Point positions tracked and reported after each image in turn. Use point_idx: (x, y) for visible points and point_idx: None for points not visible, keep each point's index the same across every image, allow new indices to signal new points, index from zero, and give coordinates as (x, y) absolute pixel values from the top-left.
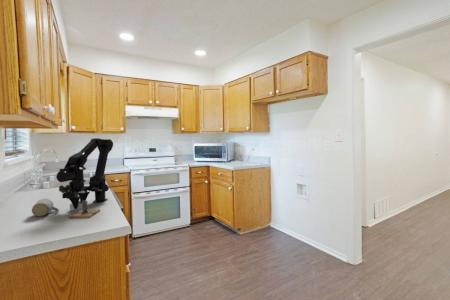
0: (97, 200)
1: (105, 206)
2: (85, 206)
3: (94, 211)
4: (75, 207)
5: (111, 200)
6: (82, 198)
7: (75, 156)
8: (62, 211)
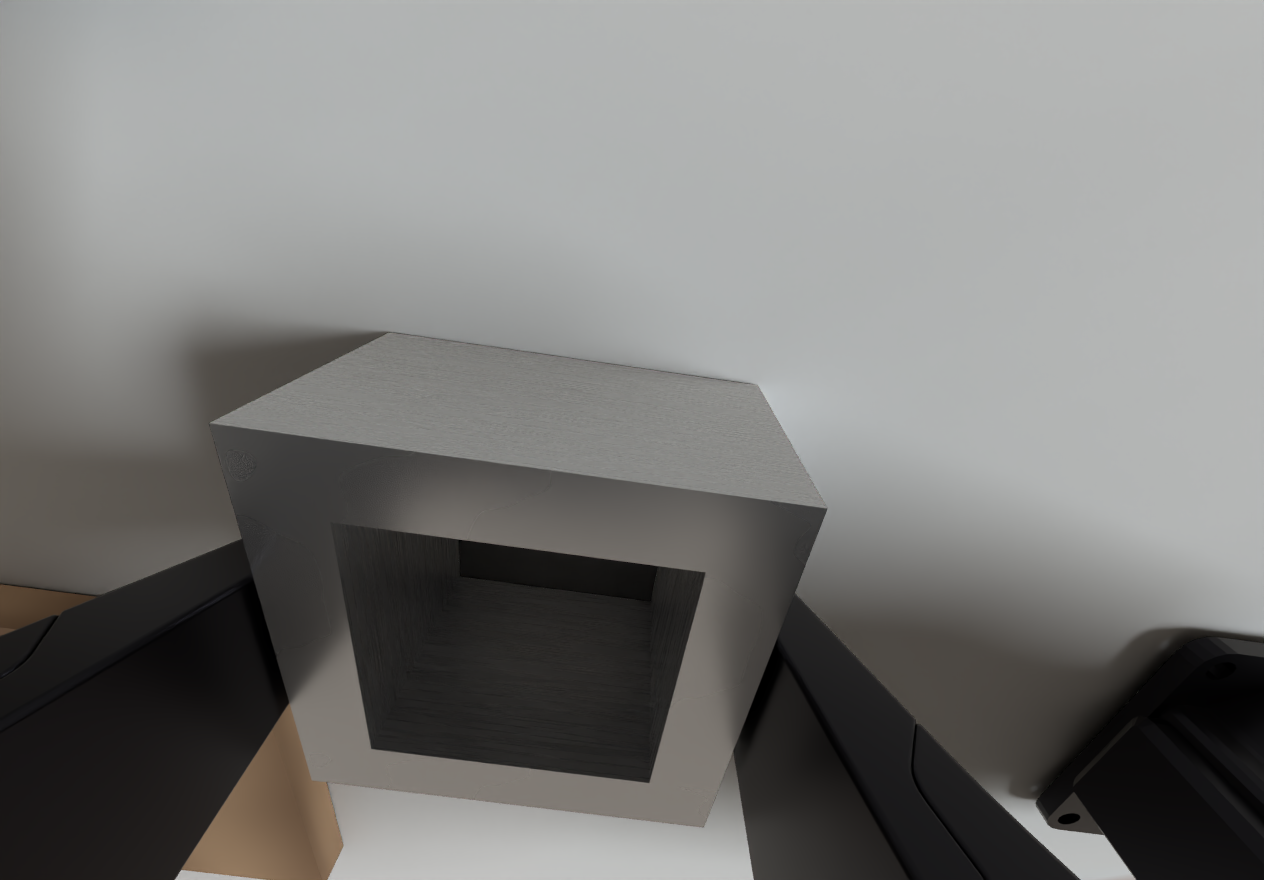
0: (1123, 782)
1: (632, 858)
2: None
3: (194, 854)
4: None
5: (1090, 872)
6: (797, 857)
7: None
8: (312, 40)
